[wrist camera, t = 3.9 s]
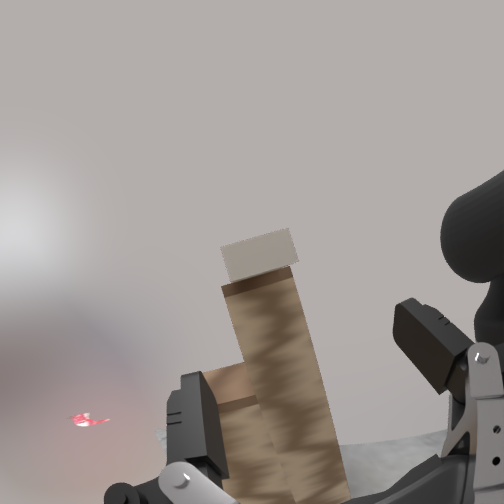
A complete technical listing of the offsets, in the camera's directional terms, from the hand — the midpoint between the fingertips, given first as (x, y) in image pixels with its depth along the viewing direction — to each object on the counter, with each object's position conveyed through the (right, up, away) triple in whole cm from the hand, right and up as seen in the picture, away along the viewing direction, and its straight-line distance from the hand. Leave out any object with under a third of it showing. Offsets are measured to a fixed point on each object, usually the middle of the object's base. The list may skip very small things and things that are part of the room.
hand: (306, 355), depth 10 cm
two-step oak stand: (+4, -30, +16) cm, 35 cm away
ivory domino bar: (-2, +2, +16) cm, 16 cm away
